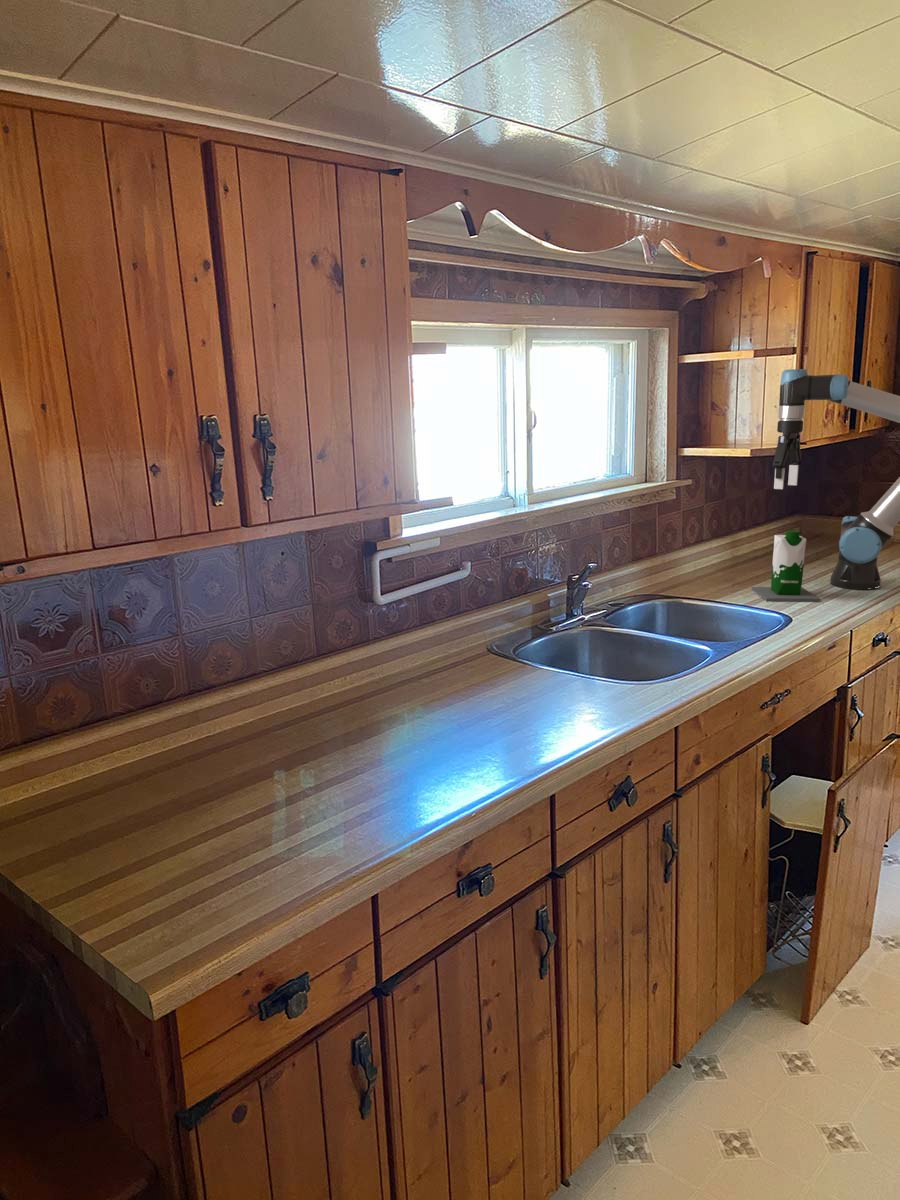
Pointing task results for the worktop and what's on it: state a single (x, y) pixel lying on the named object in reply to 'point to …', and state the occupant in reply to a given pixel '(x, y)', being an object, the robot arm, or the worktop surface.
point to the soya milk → (788, 563)
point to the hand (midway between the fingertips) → (785, 487)
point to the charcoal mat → (773, 597)
